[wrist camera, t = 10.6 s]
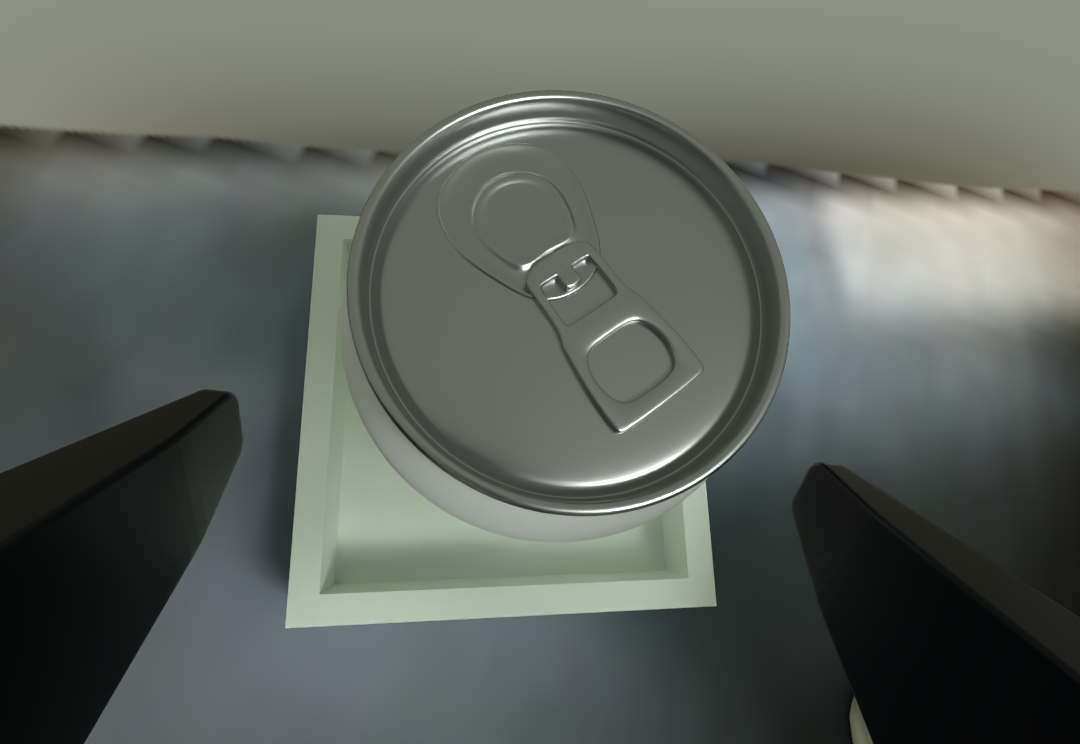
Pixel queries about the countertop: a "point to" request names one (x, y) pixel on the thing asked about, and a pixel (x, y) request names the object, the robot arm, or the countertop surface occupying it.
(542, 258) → the can
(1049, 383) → the countertop surface
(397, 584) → the tray
